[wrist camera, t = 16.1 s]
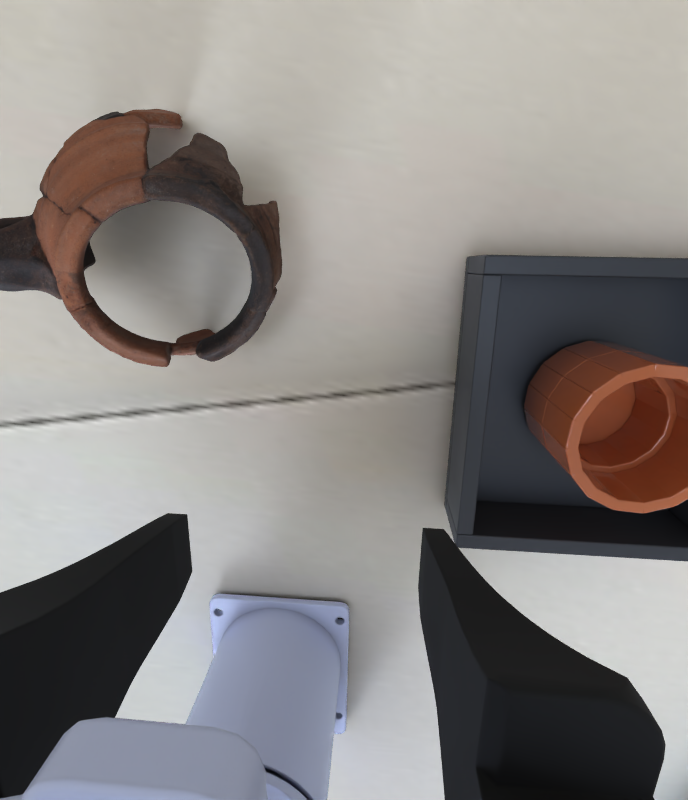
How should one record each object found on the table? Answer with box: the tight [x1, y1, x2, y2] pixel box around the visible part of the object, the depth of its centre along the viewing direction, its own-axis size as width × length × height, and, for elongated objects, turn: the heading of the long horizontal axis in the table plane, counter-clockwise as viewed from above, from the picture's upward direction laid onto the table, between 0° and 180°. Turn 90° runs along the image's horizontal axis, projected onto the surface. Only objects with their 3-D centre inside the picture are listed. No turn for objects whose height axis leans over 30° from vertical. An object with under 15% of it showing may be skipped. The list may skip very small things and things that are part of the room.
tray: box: [444, 255, 688, 561], centre depth 20 cm, size 12×11×4 cm
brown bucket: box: [524, 341, 688, 513], centre depth 19 cm, size 6×6×6 cm
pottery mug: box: [0, 109, 282, 367], centre depth 19 cm, size 12×10×8 cm
